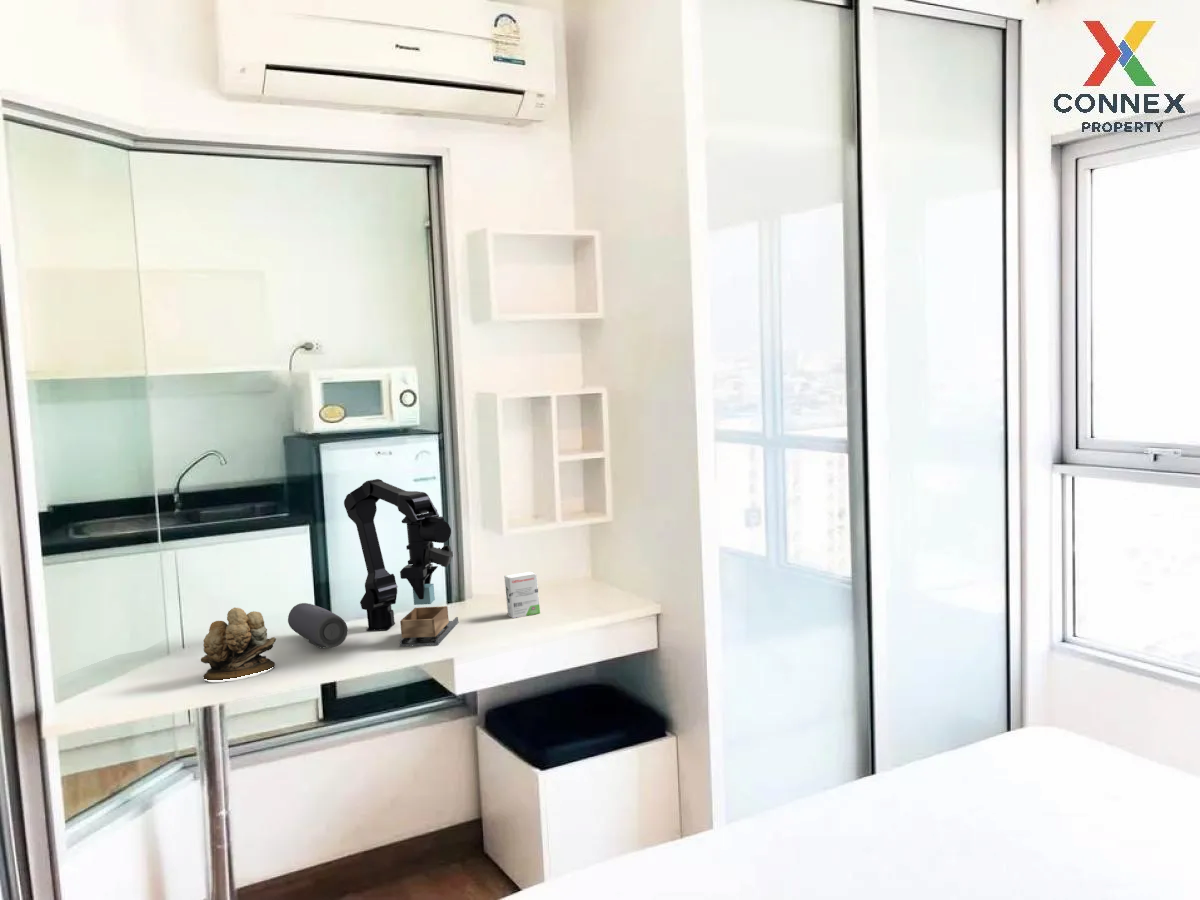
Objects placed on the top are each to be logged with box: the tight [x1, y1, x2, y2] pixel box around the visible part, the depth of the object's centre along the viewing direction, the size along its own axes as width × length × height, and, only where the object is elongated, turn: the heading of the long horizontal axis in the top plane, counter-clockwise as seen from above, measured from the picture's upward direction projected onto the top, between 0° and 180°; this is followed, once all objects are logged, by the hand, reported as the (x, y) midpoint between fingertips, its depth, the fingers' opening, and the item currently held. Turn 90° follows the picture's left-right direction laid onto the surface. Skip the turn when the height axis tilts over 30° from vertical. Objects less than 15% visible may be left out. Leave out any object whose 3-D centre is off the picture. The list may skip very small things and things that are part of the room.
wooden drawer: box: [399, 605, 450, 641], centre depth 261 cm, size 9×13×6 cm
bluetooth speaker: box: [287, 602, 349, 649], centre depth 264 cm, size 23×9×10 cm, turn 37°
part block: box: [412, 583, 436, 606], centre depth 261 cm, size 4×4×4 cm
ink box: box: [504, 571, 541, 619], centre depth 278 cm, size 9×5×12 cm, turn 112°
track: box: [399, 616, 459, 647], centre depth 265 cm, size 10×21×2 cm, turn 174°
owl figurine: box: [200, 607, 277, 680], centre depth 242 cm, size 18×12×17 cm, turn 117°
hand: (424, 596), depth 261 cm, fingers closed on part block, 4 cm apart
